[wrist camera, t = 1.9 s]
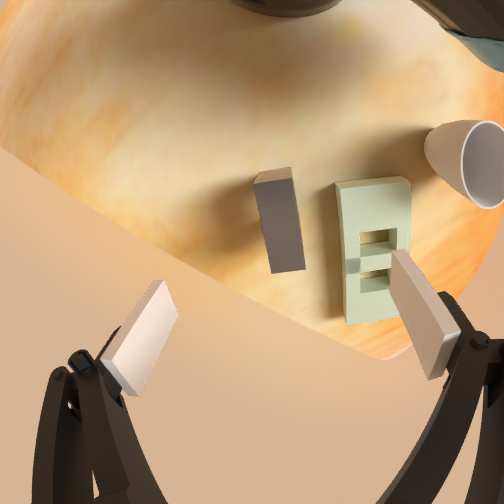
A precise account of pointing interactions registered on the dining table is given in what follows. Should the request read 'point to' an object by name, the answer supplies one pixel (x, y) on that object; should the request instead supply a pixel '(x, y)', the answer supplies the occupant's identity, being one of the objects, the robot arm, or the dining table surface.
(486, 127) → the cup
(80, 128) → the dining table surface
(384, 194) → the block with rectangular hole
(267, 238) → the grey foam block
